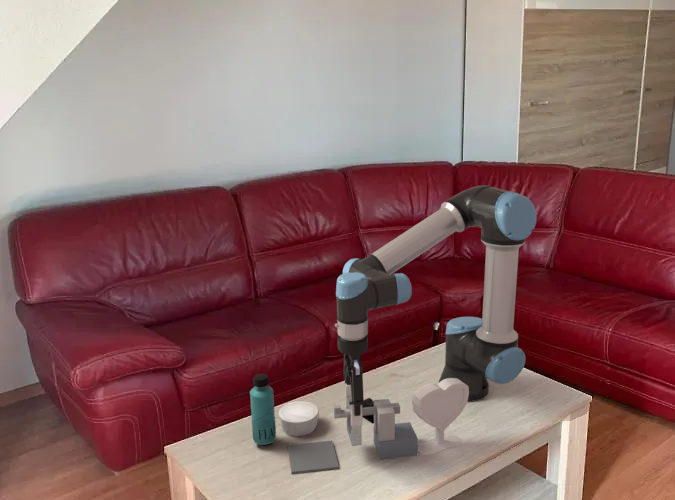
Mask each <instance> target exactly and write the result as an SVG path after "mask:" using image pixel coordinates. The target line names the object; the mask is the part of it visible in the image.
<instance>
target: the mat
mask: <svg viewBox="0 0 675 500" xmlns="http://www.w3.org/2000/svg"><path fill="white" fill-rule="evenodd" d="M287 451H288V459H289V464H290V466H289V467H290V472H291V475H294V474H295V475H296V474H305V473H314V472H321V471H331V470H339V469H340V466H339V465H340V464H339V462H338V459H337V454H336V451H335V446H334V442H333V440H323V441H313V442H304V443H303V442H302V443H293V444H287Z"/></svg>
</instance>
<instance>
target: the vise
mask: <svg viewBox="0 0 675 500" xmlns="http://www.w3.org/2000/svg"><path fill="white" fill-rule="evenodd" d="M373 401H374V407H365V408H362V416H365V415H374V423H373V445H374V447H375V449H376V452H377V455H378V459H379V460H389V459H397V458H407V457H416V456H418V455H419V452H418V445H419V443H418V442H419V438H418V436H417V434H416V432H415V430H414V428H413V426H412V423H411V421H408V422H407V421H406V422H399V423H396V421H395V420H396V415H400V414H401V405H400V403H399V402H395V403H391V400H390V399H389V398H383V399H382V398H381V399H374V400H373ZM333 416H334V417H333V418H334V419H343V418H344V419H345V418H347V417H350V412H349V409H346V408H345V409H342V408H341V404H335V405H334V404H333Z"/></svg>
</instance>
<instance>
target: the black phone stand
mask: <svg viewBox="0 0 675 500" xmlns="http://www.w3.org/2000/svg"><path fill="white" fill-rule="evenodd" d="M365 407H374V400H373V399H372V398H370V397H368V398H366V399H364V405H362V408H365ZM362 419H364V420H366V421H368V422H369V423H371V424H372V425H374V415H365V416H362Z"/></svg>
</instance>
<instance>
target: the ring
mask: <svg viewBox="0 0 675 500" xmlns="http://www.w3.org/2000/svg"><path fill="white" fill-rule="evenodd" d="M349 402H352V396H351V395H348V396H346V401H345V409H349V412H350V417H346V432H347V435H348V437H349V441H350V445H351V446H352V447H358V446H362V443H363V440H362V437H363V435H362V425H360V426H351V405H349Z"/></svg>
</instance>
